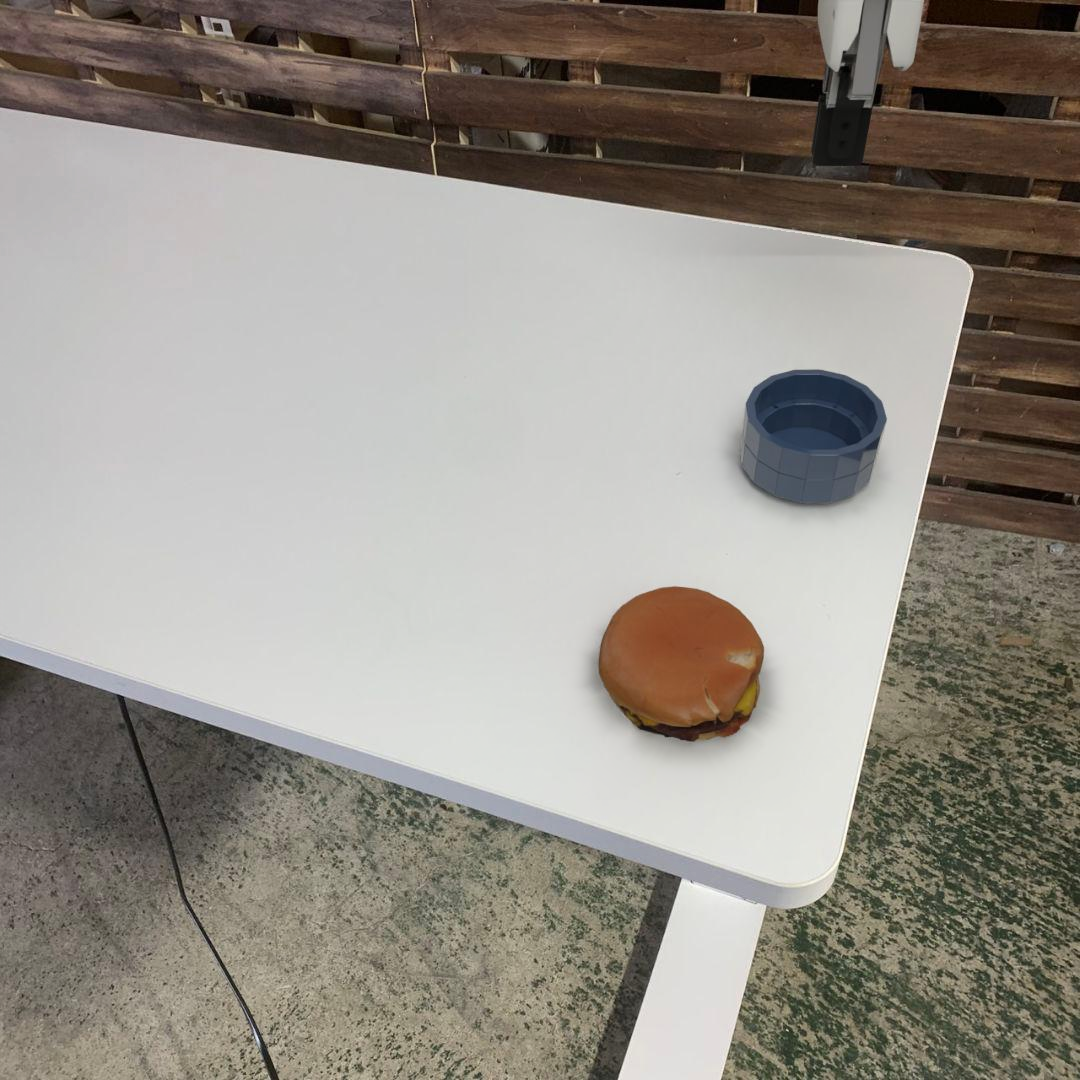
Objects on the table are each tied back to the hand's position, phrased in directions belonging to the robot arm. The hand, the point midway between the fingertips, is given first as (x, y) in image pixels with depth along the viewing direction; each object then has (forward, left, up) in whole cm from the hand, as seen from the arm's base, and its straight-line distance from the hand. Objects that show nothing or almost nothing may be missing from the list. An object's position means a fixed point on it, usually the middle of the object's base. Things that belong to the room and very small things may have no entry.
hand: (835, 159), depth 65 cm
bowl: (0, +12, -17) cm, 21 cm away
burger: (+9, +31, -17) cm, 37 cm away
